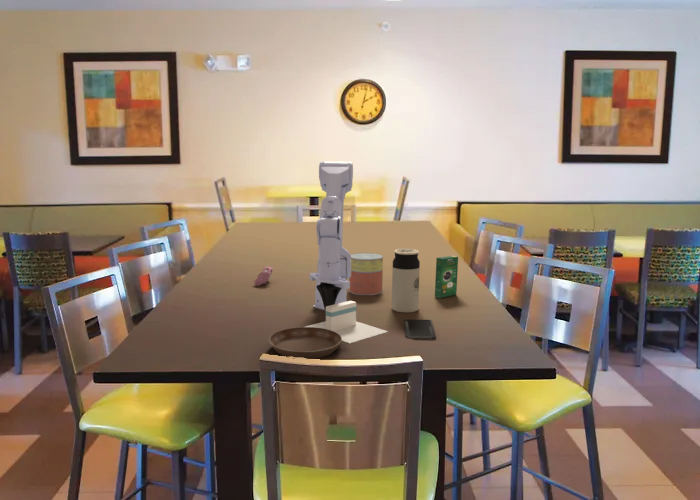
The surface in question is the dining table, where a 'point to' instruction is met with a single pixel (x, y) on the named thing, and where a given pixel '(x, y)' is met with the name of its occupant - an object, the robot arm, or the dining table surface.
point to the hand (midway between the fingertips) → (329, 310)
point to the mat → (354, 331)
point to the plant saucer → (305, 342)
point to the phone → (419, 329)
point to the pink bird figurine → (263, 276)
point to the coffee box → (446, 276)
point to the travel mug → (405, 280)
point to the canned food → (366, 274)
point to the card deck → (340, 315)
